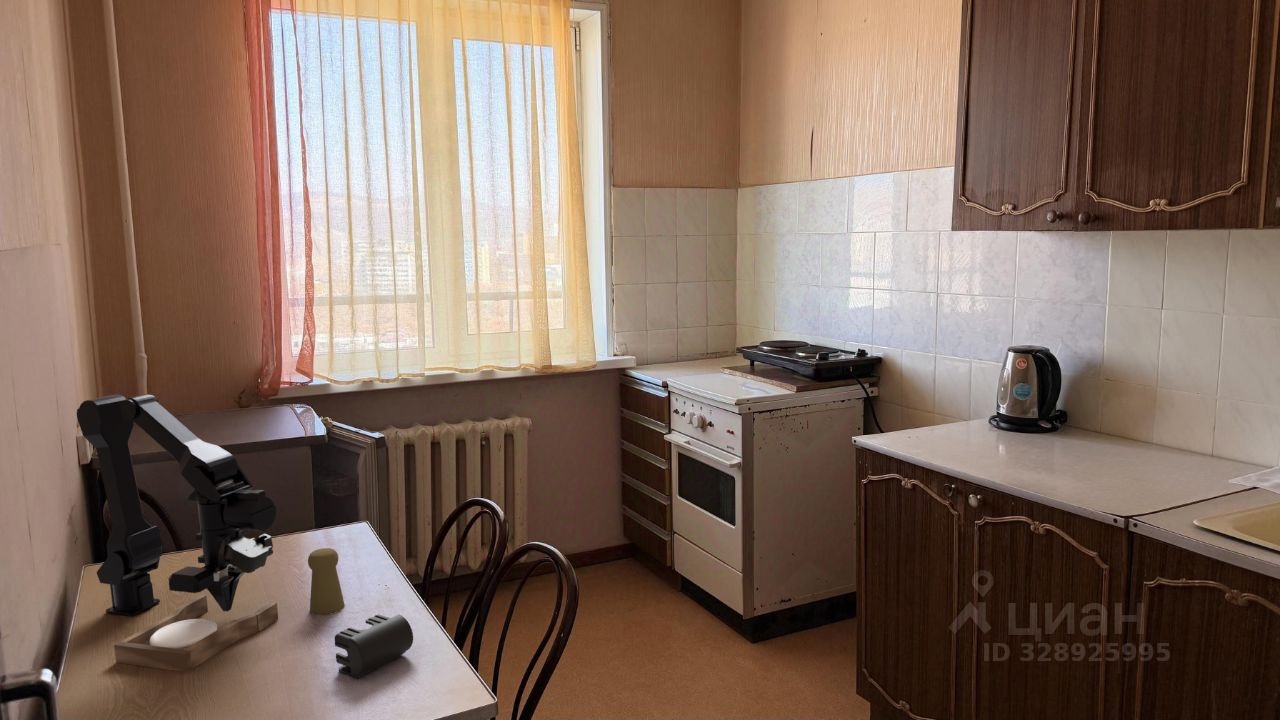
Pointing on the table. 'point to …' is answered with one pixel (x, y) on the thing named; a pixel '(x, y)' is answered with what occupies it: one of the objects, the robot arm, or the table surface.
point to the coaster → (183, 633)
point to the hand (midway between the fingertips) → (227, 610)
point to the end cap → (373, 644)
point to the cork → (325, 582)
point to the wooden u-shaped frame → (144, 654)
